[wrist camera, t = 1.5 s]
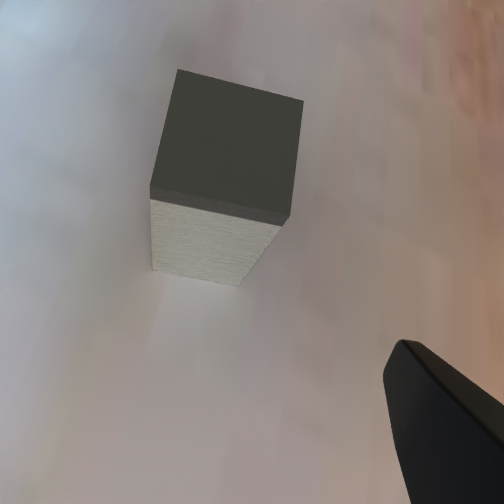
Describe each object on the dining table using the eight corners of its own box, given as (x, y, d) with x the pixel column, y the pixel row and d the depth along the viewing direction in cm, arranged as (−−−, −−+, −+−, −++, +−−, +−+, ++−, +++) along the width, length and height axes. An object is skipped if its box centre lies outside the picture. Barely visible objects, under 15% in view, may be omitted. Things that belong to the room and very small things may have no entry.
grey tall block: (237, 286, 24) (289, 215, 15) (152, 270, 23) (149, 186, 14) (249, 209, 25) (303, 100, 16) (169, 192, 25) (177, 68, 15)
